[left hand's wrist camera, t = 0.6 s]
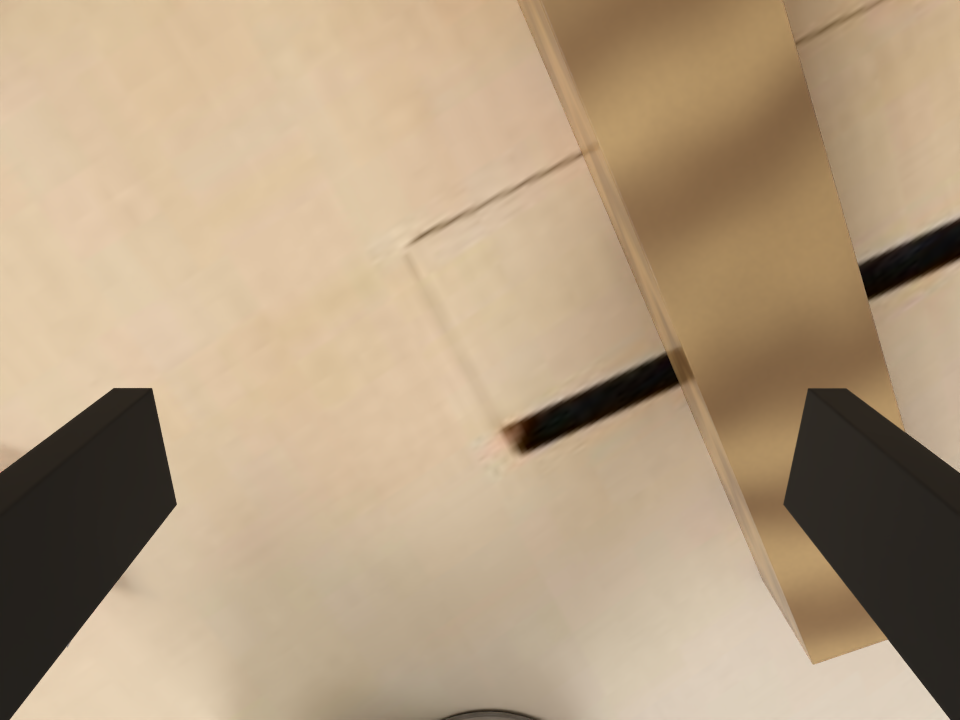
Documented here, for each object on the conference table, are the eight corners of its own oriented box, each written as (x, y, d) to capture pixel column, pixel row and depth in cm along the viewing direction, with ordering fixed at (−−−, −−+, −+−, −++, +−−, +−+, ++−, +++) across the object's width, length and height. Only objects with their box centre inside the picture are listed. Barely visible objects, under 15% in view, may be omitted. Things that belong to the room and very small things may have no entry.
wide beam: (883, 537, 44) (957, 616, 37) (763, 581, 45) (813, 665, 39) (514, -615, 24) (527, -906, 17) (319, -467, 25) (260, -679, 18)
